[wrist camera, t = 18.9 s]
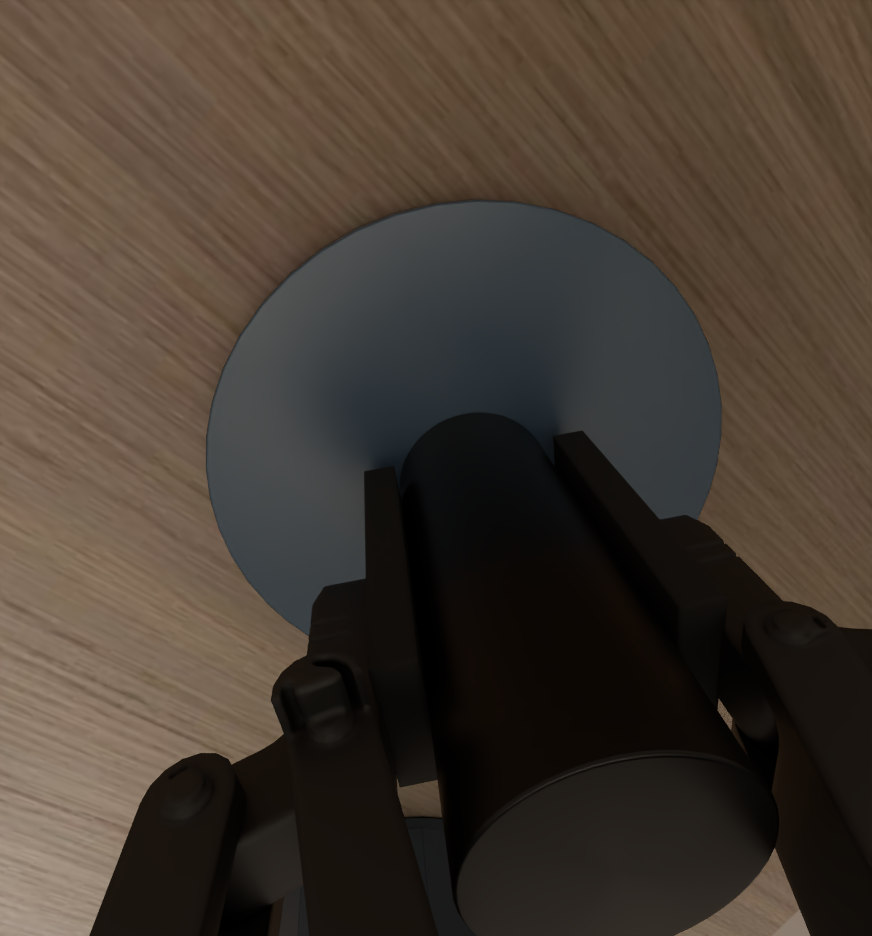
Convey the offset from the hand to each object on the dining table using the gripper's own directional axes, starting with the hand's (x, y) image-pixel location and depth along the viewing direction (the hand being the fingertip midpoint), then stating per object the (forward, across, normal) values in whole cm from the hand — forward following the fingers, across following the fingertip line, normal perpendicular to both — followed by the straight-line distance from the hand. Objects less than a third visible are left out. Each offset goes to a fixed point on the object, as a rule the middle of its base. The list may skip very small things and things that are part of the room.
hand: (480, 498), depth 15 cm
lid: (+2, 0, 0) cm, 2 cm away
